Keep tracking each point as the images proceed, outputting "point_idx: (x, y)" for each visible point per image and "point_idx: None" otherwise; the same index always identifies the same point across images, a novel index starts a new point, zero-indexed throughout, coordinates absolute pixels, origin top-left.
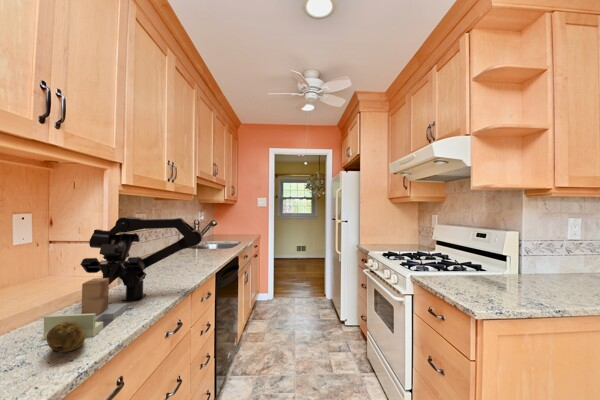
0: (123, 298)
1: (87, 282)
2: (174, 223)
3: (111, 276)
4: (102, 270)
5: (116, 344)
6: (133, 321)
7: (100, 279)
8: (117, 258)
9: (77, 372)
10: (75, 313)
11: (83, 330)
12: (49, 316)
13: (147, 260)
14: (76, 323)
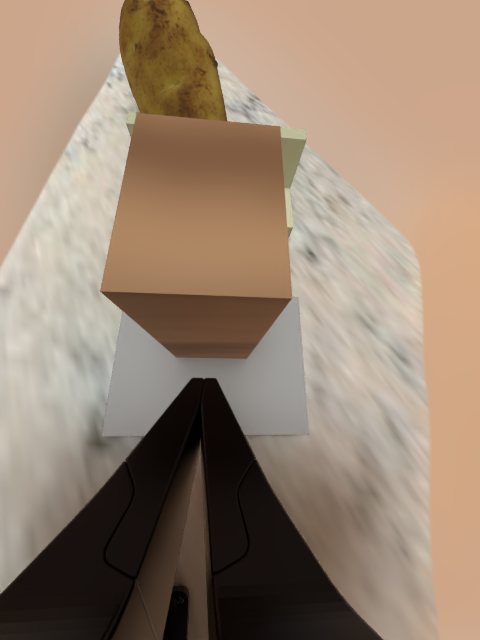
0: (186, 634)
1: (258, 153)
2: None
3: (125, 465)
4: (331, 595)
5: (70, 140)
6: (51, 276)
7: (180, 235)
8: None
9: (116, 66)
10: (294, 315)
11: (131, 73)
12: (289, 130)
13: None
14: (131, 15)
